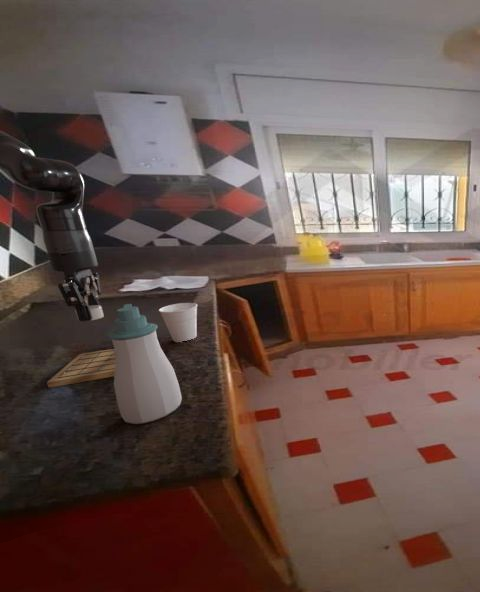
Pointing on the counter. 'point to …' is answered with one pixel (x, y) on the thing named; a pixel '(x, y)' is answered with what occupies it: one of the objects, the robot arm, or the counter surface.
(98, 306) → the white short cylinder
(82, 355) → the board
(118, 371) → the soap bottle
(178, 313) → the cup
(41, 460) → the counter surface
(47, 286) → the counter surface
